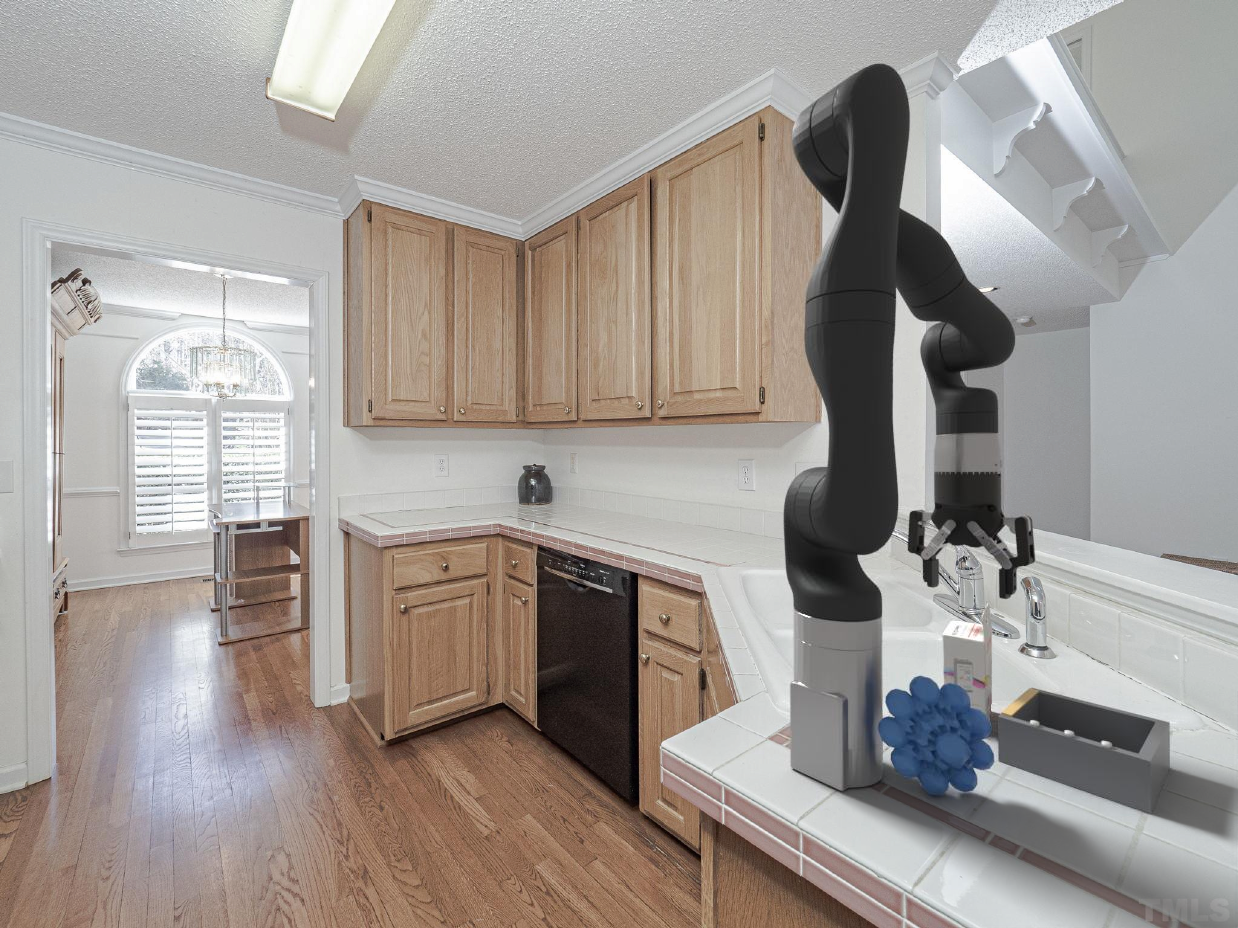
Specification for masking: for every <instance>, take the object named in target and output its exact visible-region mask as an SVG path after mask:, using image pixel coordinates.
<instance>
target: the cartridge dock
mask: <svg viewBox="0 0 1238 928" xmlns="http://www.w3.org/2000/svg"><path fill="white" fill-rule="evenodd" d="M1000 712H1001V713H1000V714H999V715H998V716H997V718H998V719H997V723H998V724H997V725H998V729H997V730H998V731H997V733H998V734H997V735H998V736H997V739H998V740H997V742H998V743H997V744H998V745H997V748H998V751H997V752H998V755H997V756H998V762H1000V763H1003V764H1006V765H1009V766H1012V767H1016V768H1018V769H1021V770H1024V771H1027V772H1029V773H1032V774H1036V775H1037V776H1041V777H1044V778H1046V779H1050V780H1052V781H1056V782H1058V783H1061V784H1064V785H1067V786H1070V787H1073V788H1076V789H1078V790H1081V791H1083V792H1087V793H1089V794H1092V795H1096V796H1098V797H1102V798H1105V799H1107V800H1110V801H1112V802H1115V803H1118V804H1121V805H1124V806H1127V807H1130V808H1133V809H1137V810H1138V811H1141V812H1144V813H1148V814H1150V815H1151V814H1152V812H1153V810H1154V807H1155V805H1156V802H1157V800H1158V797H1159V795H1160V792H1161V790H1162V788H1163V785H1164V782H1165V780H1166V778H1167V776H1168V774H1169V771H1170V769H1171V760H1170V759H1171V758H1170V757H1171V756H1170V755H1171V752H1170V751H1171V744H1170V742H1171V739H1170V738H1171V733H1170V732H1171V731H1170V729H1171V728H1170V727H1171V723H1170V721H1166V720H1162V719H1158V718H1154V717H1151V716H1150V717H1149V716H1146V715H1142V714H1138V713H1134V712H1129V711H1126V710H1122V709H1119V708H1115V707H1110V706H1106V705H1102V704H1098V703H1095V702H1090V701H1087V700H1086V701H1085V700H1083V699H1078V698H1075V697H1070V696H1067V695H1062V694H1059V693H1054V692H1050V691H1046V690H1042V689H1040V688H1039V689H1038V688H1035V687H1031V688H1030V687H1029V688H1028V689H1027V690H1025V691H1024V692H1023V693H1022V694H1021V695H1020V696H1019V697H1017V698H1016V699H1015V700H1013V702H1011V703H1010V704H1009V705H1008V706H1007V707H1005V708H1004V709H1003V710H1002V711H1000Z"/></svg>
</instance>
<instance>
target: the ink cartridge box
mask: <svg viewBox="0 0 1238 928" xmlns="http://www.w3.org/2000/svg"><path fill="white" fill-rule="evenodd" d="M992 631H993V626H992V618H991V608H990V604H989V603H987V604H986V606H985V608H984V610H983V613H982V614H981V623H975V622H967V621H960V620H951V621H950V622H949V623H948V625H947V626H946V628H945V630H944V631H943V633H942V634H941V636H942V670H943V677H942V678H943V685H944V684H948V683H951V684H955V685H959V686H961V687H962V688H963V689H964V690H966V692H967V694H968V695H969V697H970V706H971V707H970V708H974V709H978V710H981V711H982V712H983V713H984V714H986V715H987V717H988V718H989V720H991V716H990V713H991V714H992V711H991V704H992V705H993V700H992V699H993V655H992V654H993V643H992V640H993V639H992V637H993V635H992V633H993V632H992Z"/></svg>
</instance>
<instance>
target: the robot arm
mask: <svg viewBox="0 0 1238 928" xmlns="http://www.w3.org/2000/svg"><path fill="white" fill-rule="evenodd" d="M910 110H911V109H910V102H909V96H908V91H907V89H906V85H905V83H904V81H903V79H902V77H901V75H900V73H898V71H897V70H896V69H895V68H893V67H892V66H891V65H889V64H886V63H873V64H870V65H868V66H866V67H863V68H862V69H860V70H858V71H857V72H855V73H853V74H851V75H850V76H849V77H847V78H846V79H844V80H842V81H841V82H840V83H838V84H837V85H836V86H834V87H832V89H830V90H829V91H827V92H826V93H825V94H823V95H822V96H820V97H819V98H817V99H816V100H815V101H814V102H812V103H811V104H810V105H808V106H807V107H806V108H805V109H803V110H802V111H801V112H800V113H799V114H798V116H797V118H795V121H794V125H793V127H792V134H791V143H792V145H791V146H792V149H793V154H794V156H795V159H796V161H797V164H798V166H799V167H800V169H801V170H802V172H803V174H804V175H805V176H806V178H807V180H809V182H810V183H811V184H812V186H813V187H814V188H815V189H816V190H817V192H819V194H820V195H821V196H822V198H824V199H825V201H826V202H827V203H828V204H829V205H830V206H831V207H832V209H833V210H834V211H835V212H836V213H837V214H838V217H837V219H836V221H835V224H834V226H833V227H832V230H831V231H830V234H829V235H828V237H827V239H826V242H825V244H824V246H823V248H822V250H821V251H820V254H819V256H818V258H817V261H816V263H815V266H814V267H813V269H812V273H811V276H810V278H809V281H808V285H807V287H806V293H805V294H806V295H805V301H804V302H805V307H804V310H805V311H804V335H803V336H804V338H803V341H804V352H805V356H806V359H807V364H808V365H809V366H808V367H809V369H810V371H811V374H812V376H813V378H814V381H815V384H816V386H817V389H818V391H819V393H820V395H821V398H822V401H823V403H824V406H825V410H826V414H827V422H828V451H827V452H828V456H827V466H818V467H816V466H815V467H812V468H811V467H810V468H807V469H805V470H804V471H802V472H800V473H799V474H797V475H796V477H794V478H793V480H792V481H791V482H790V485H789V487H788V489H787V491H786V494H785V499H784V505H783V537H784V539H783V540H784V541H783V542H784V544H783V545H784V560H785V562H784V563H785V574H786V578H787V582H788V585H789V587H790V591H791V592H792V600H793V681H791V682H790V685H789V686H790V687H789V693H790V694H789V697H790V698H789V704H790V705H789V706H790V707H789V710H790V711H789V713H790V715H789V718H790V720H789V724H790V725H789V726H790V728H789V729H790V737H789V738H790V739H789V740H790V743H789V744H790V751H789V752H790V753H789V754H790V757H789V758H790V759H789V761H790V768H791V769H794V770H795V771H798V772H799V773H802V774H804V775H806V776H809V777H810V778H813V779H815V780H817V781H819V782H822V783H823V784H825V785H827V786H830V787H832V788H834V789H836V790H838V791H841V792H843V791H845V790H846V789H848V788H863V787H868V786H872V785H874V784H877V783H878V782H879V781H881V780H882V778H883V777H884V776H883V775H884V754H883V753H884V752H883V751H884V742H883V741H882V739H881V736H880V734H879V732H878V724H879V722H880V721H881V720H882V719H883V718H884V717H883V715H884V714H883V712H884V711H883V710H884V709H883V704H884V703H883V702H884V701H883V700H884V699H883V696H884V695H883V596H882V593H881V592H882V591H881V589H880V588H879V586H878V585H877V584H875V582H874V581H872V579H871V578H870V577H869V576H868V575H867V574H866V572H865V571H864V570H863V567H862V566H861V563H860V561H859V556H867V555H871V554H874V553H876V552H878V551H879V550H881V549H882V548H883V547H885V546H886V544H887V543H888V541H889V540H890V539H891V537H892V535H893V534H894V532H895V527H896V524H897V520H898V515H899V485H898V483H899V482H898V471H897V470H898V469H897V459H896V447H895V435H894V434H895V433H894V416H893V415H894V411H893V410H894V409H893V408H894V349H895V335H896V321H897V320H896V317H897V316H896V313H897V291H898V293H899V295H900V296H901V298H902V300H903V302H904V303H905V304H906V306H907V308H908V310H909V312H910V313H911V314H912V316H914V317H915V318H916V319H917V320H919V321H922V322H935V324H933V325H931V326H930V327H929V328H928V329H927V330H926V331H925V333H924V335H923V336H922V339H921V343H920V348H919V352H920V359H921V363H922V366H923V369H924V372H925V374H926V378H927V380H928V383H929V388H930V391H931V395H932V398H933V401H934V405H935V443H934V450H933V494H934V495H933V498H934V499H933V501H934V508H933V511H932V512H929V511H925V510H924V509H917V510H912V511H910V512H909V515H908V535H907V551H908V552H909V553H910V554H914V555H917V556H918V557H920V558H921V560H922V579H923V582H924V583H926V586H927V588H936V587H937V588H938V586H939V585H940V573H939V572H940V571H939V570H940V566H939V565H940V561H939V560H940V559H939V558H937V557H938V555H940V553H942V551H943V549H945V548H946V547H947V546H948V545H950V544H951V546H957V547H958V546H966V547H970V548H975V549H976V548H978V549H979V548H981V547H983V548H985V550H986V551H987V552H988V553H989V555H992V557H994V559H995V561H997V563H998V564H999V565H1000V566H1001V568H999V569H998V596H999V597H998V598H1000V599H1004V600H1008V599H1010V598H1011V597H1012V595H1013V596H1014V595H1015V593H1016V592H1017V589H1018V588H1017V587H1018V586H1017V585H1018V584H1017V582H1018V581H1017V579H1018V578H1017V571H1018V568H1020V567H1027V566H1029V565H1032V564H1034V563H1035V562H1036V549H1035V541H1034V529H1033V528H1034V527H1033V519H1032V517H1031V516H1029V515H1021V516H1005V515H1004V513H1003V511H1002V468H1003V460H1002V450H1001V446H1000V445H1001V444H1000V439H999V400H998V399H999V398H998V396H997V393H996V392H995V391H994V390H992V389H989V388H984V387H976V386H975V387H971V386H967V385H966V384H965V382H964V380H963V378H962V375H961V372H968V371H974V370H982V369H990V368H994V367H997V366H1000V365H1002V364H1004V363H1005V362H1006V361H1007V360H1009V359H1010V357H1011V356H1012V354H1013V351H1014V350H1015V346H1016V333H1015V330H1014V327H1013V325H1012V322H1011V321H1010V319H1009V318H1008V317H1007V315H1006V314H1005V312H1003V311H1002V309H1000V307H998V306H997V305H996V304H995V303H994V302H993V301H991V299H990V298H988V297H987V295H985V294H984V293H983V292H982V291H981V290H980V289H979V288H978V287H976V286H975V285H974V284H973V283H972V282H971V281H970V280H969V279H968V277H967V274H966V273H965V272H964V269H963V267H962V265H961V264H960V262H959V260H958V257H957V256H956V254H955V253H954V251H953V249H952V247H951V245H950V244H949V242H948V241H947V240H946V239H945V237H943V235H942V234H941V233H940V232H939V231H937V229H935V228H934V227H933V226H931V225H930V224H928V223H927V222H925V221H923V220H922V219H920V218H918V217H917V216H915V215H913V214H911V213H910V212H908V211H907V210H906V211H905V210H904V209H903V208H901V201H902V200H901V199H902V191H903V186H904V178H905V170H906V163H907V156H908V149H909V142H910V141H909V140H910V131H911V130H910V129H911V112H910ZM936 322H938V323H936ZM930 521H931V522H932V523H933V525H934V526H935V527H936V529H937V530H938V532H936V534H935V535H934V536H933V537H932V538H931V540H930V541H929V544H928V545H927V546H925V536H926V534H925V533H926V527H928V526H929V524H930ZM1005 526H1007V527H1008V530H1009V532H1010V533H1012V534H1014V535H1015V543H1016V545H1015V546H1016V556H1015V555H1014V554H1013V552H1011V550H1010V549H1009V547H1008V545H1007V544H1006V542H1005V541H1004V540H1003V538H1001V536H999V533H1000V532H1001V531H1002V529H1003V528H1004V527H1005Z"/></svg>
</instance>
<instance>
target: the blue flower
mask: <svg viewBox="0 0 1238 928" xmlns="http://www.w3.org/2000/svg"><path fill="white" fill-rule="evenodd" d="M908 687H909V689H908V690H909V692H908V691H906V690H903V689H899V688H894V689H891V690H890V691H888V692H887V694H886V696H885V706H886V708H887V710H888V713H890V715H892V716H889V715H888V716H885V717H883V719H882V720H881V721H880V722H879V724H878V732H879V734H880V736H881V739H882V741H883V744H884V743H885V744H886V746H887V747H890V748H893V750H892V751H891V752H890V758H889V759H890V762H891V764H892V766H893V768H894V770H895V771H896V772H897V773H898V774H899V775H900V776H901V777H904V778H907V779H913V778H917V780H918V782H919V784H920V787H921V788H922V789H924V791H925V792H927V793H928V794H931V795H934V796H940V795H944V794H945V793H947V791H948V789H949V788H950V785H951V786H952V787H953V788H954V789H955V790H957V791H960V792H962V793H968V792H969V793H970V792H973V791H974V790H975V789H976V787H977V786H978V783H979V782H978V774H977V773H976V771H975V769H976V770H979V771H987V770H990V769H991V768H992V766H993V765H994V764H995V754H994V751H993V749H992V748H991V746H990V745H989V744H988V743H987V742H986V741H984V740H986V739H988V738H989V736H990V735H991V733H992V731H993V730H992V723H991V721H990V720H991V719H990V720H989V718H988V717H987V715H986V714H984V713H983V712H982V711H981V710H978V709H974V708H970V707H971V706H970V697H969V695H968V694H967V692H966V690H964V689H963V688H962V687H961V686H959V685H955V684H951V683H948V684H944V683H943V685H942V686H941V687H939V685H938V683H937V682H936V681H935V680H934V679H932V678H930V677H927V676H923V675H919V676H915V677H913V678H912V679H911V681H910V682H909V685H908Z"/></svg>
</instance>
